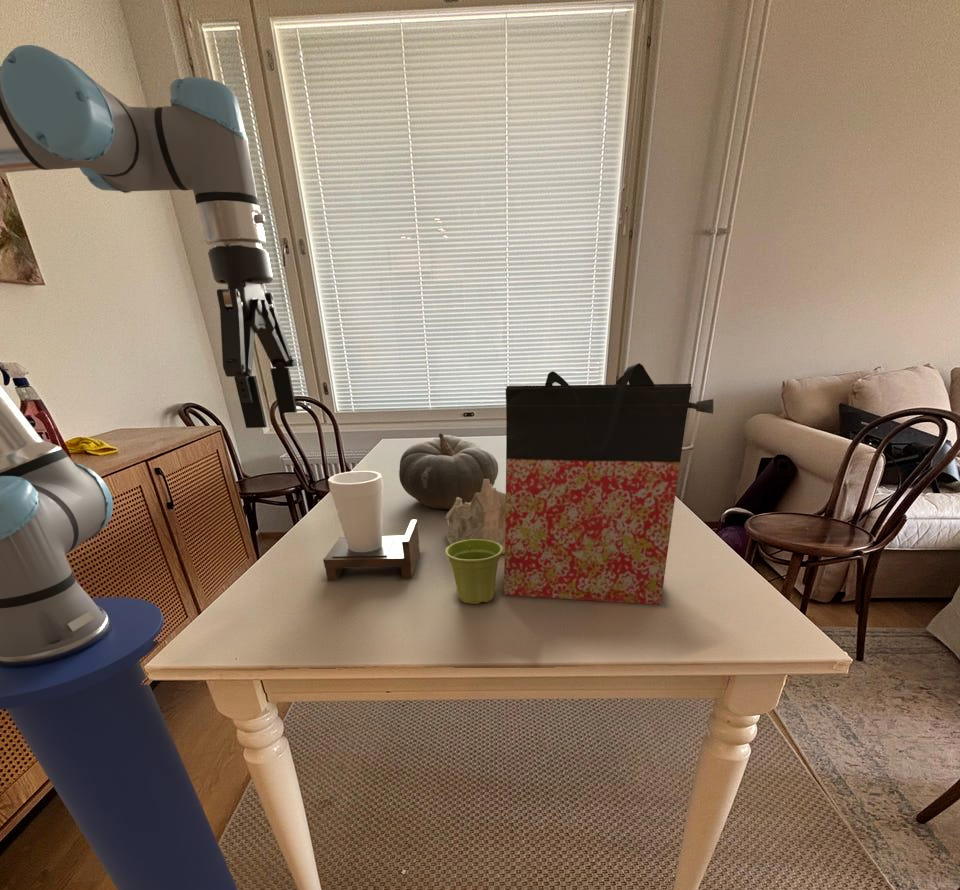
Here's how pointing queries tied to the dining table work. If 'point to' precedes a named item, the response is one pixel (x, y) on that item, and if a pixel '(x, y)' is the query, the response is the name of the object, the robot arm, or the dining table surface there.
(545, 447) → the gift bag
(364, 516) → the foam cup
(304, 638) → the dining table surface
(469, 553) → the plant pot
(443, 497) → the gourd
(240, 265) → the robot arm
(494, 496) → the ceramic cottage
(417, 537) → the shelf
